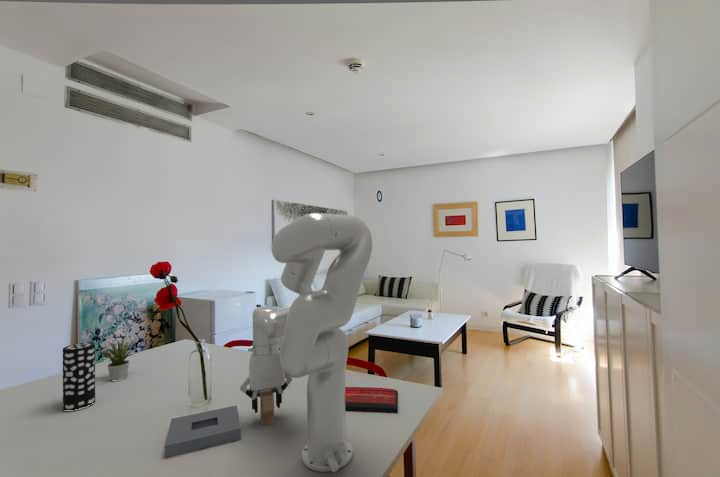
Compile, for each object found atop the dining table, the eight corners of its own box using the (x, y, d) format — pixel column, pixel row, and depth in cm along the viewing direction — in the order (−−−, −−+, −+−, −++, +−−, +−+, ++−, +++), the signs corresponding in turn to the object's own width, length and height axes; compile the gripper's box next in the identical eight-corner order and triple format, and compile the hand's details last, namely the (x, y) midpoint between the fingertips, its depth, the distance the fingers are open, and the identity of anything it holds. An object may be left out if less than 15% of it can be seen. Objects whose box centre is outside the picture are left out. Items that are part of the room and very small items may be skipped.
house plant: (134, 368, 145) (134, 331, 145) (148, 375, 136) (147, 335, 137) (94, 379, 133) (94, 339, 133) (106, 387, 125) (106, 344, 125)
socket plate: (240, 439, 89) (240, 428, 89) (164, 458, 82) (164, 446, 82) (237, 415, 102) (236, 405, 102) (171, 429, 95) (171, 418, 95)
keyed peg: (274, 422, 97) (273, 395, 98) (263, 425, 96) (262, 397, 96) (271, 414, 102) (270, 388, 102) (260, 417, 101) (260, 390, 101)
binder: (397, 407, 101) (330, 405, 104) (397, 415, 101) (330, 412, 104) (397, 387, 117) (339, 385, 120) (397, 393, 117) (339, 392, 120)
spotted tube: (97, 405, 111) (97, 345, 111) (64, 414, 105) (64, 351, 105) (93, 397, 117) (92, 341, 117) (61, 406, 111) (61, 346, 111)
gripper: (236, 356, 93) (237, 421, 92) (297, 347, 100) (298, 407, 99) (235, 349, 99) (235, 409, 99) (291, 341, 107) (292, 397, 106)
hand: (267, 407), depth 99 cm, fingers open, 5 cm apart
